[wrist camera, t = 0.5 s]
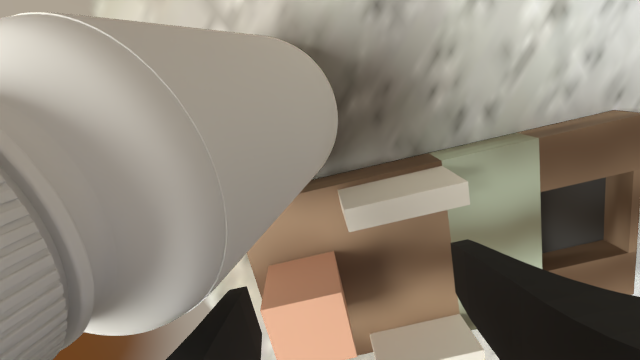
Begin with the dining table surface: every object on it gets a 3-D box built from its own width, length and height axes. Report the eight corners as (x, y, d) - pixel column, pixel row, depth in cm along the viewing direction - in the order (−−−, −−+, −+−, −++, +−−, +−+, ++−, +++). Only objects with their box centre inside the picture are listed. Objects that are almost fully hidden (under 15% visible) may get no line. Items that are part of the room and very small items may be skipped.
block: (347, 306, 21) (357, 356, 17) (285, 319, 21) (281, 373, 17) (333, 251, 20) (341, 292, 16) (268, 265, 20) (260, 310, 16)
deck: (606, 276, 24) (633, 293, 22) (287, 348, 24) (285, 371, 22) (613, 110, 20) (646, 113, 18) (239, 197, 20) (232, 209, 18)
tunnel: (461, 328, 22) (485, 366, 19) (372, 348, 22) (383, 388, 19) (442, 165, 18) (468, 181, 16) (337, 189, 18) (344, 209, 16)
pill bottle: (284, -2, 15) (-599, -340, 2) (369, 144, 17) (172, 513, 3) (178, 89, 19) (-430, 187, 5) (256, 204, 20) (-70, 514, 7)
